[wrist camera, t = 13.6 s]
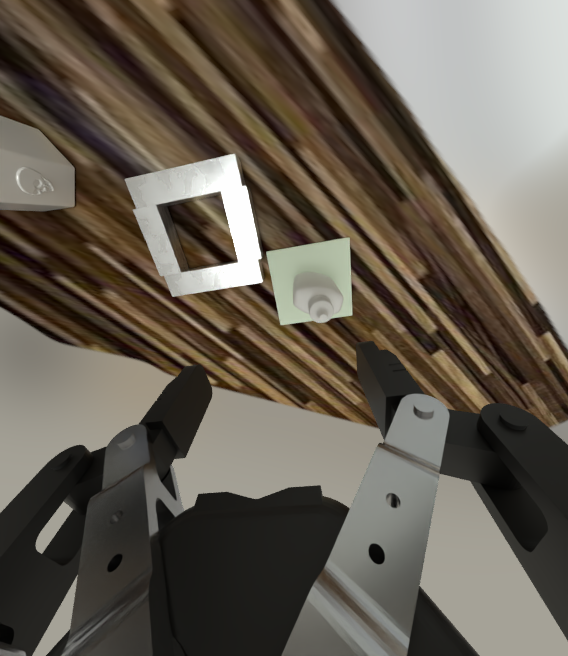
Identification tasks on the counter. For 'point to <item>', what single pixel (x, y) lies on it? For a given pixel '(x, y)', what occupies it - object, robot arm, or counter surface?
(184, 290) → the collar block
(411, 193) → the counter surface
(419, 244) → the counter surface
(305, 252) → the sage mat
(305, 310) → the eye dropper bottle
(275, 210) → the counter surface
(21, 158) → the jar
